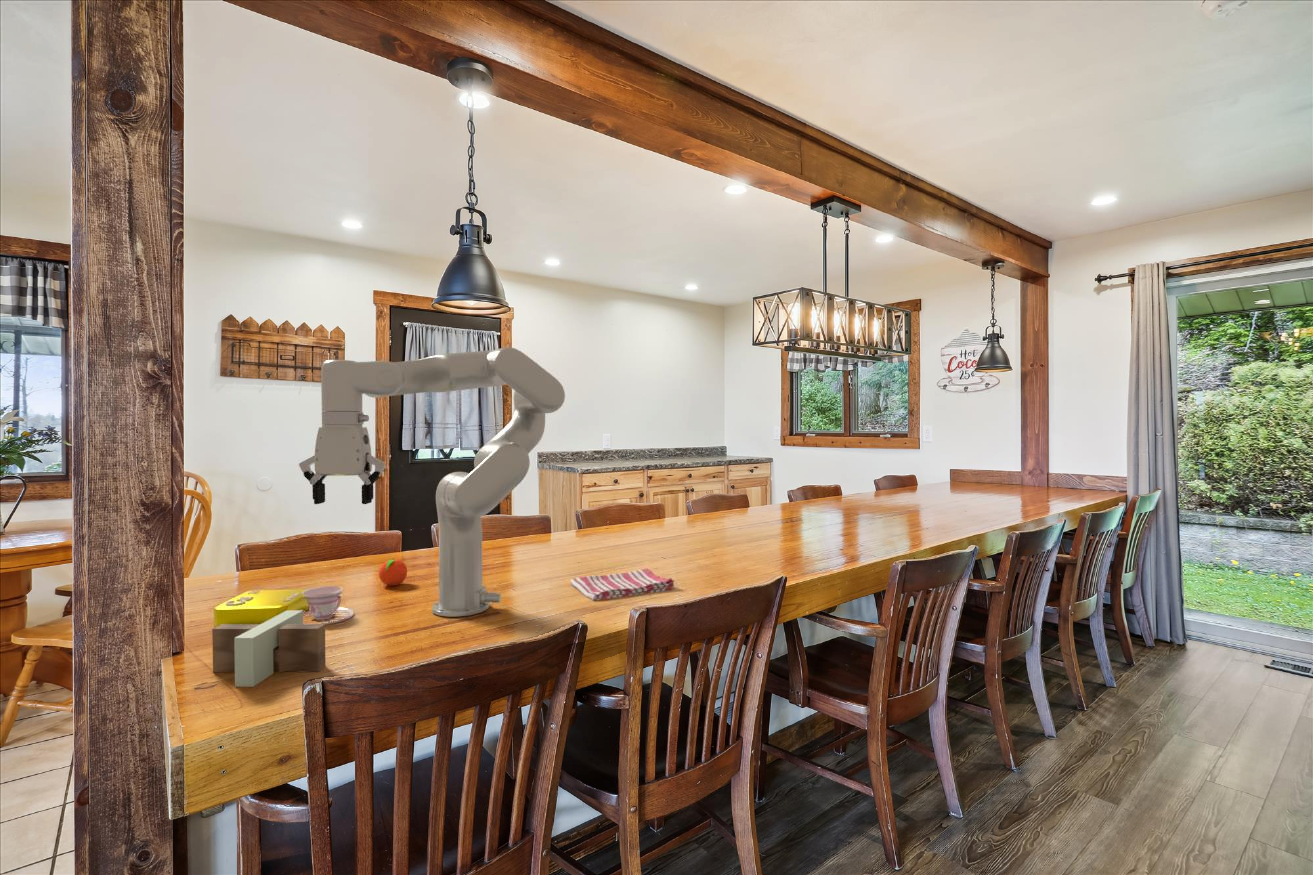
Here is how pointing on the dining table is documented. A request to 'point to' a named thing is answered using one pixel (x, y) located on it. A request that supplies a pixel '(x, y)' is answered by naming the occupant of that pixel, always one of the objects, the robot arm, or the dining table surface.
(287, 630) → the walnut upright plate
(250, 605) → the element tile
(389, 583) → the clementine
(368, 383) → the robot arm
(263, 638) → the sage cross-piece
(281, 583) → the dining table surface
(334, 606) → the teacup
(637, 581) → the dish towel
